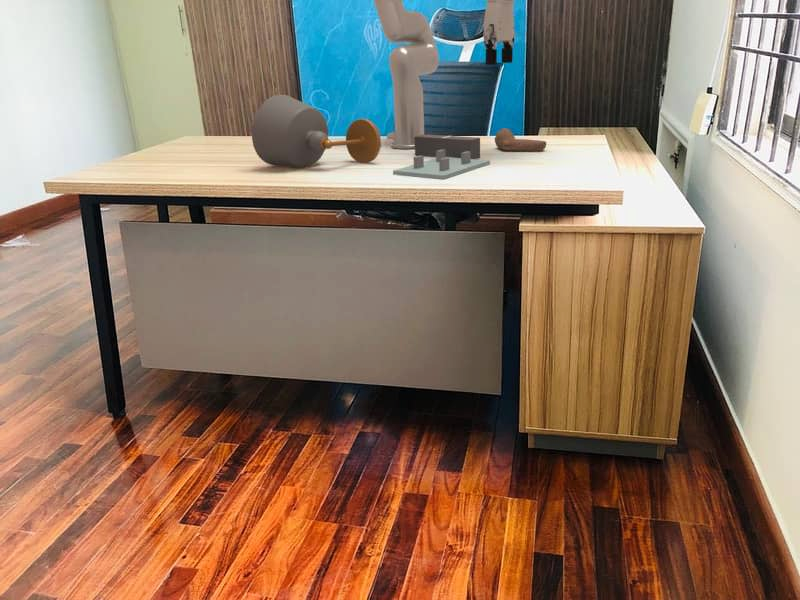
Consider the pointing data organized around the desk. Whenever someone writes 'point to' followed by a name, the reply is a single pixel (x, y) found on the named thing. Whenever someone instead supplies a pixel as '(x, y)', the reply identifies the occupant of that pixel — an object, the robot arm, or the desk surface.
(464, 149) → the dark gray block
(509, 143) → the pipe
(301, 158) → the light fixture
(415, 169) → the base
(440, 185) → the desk surface
